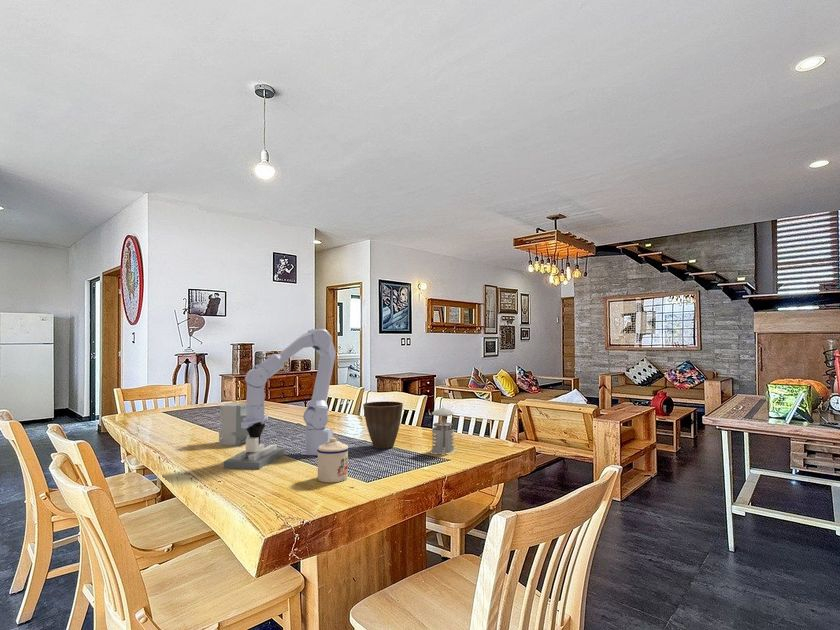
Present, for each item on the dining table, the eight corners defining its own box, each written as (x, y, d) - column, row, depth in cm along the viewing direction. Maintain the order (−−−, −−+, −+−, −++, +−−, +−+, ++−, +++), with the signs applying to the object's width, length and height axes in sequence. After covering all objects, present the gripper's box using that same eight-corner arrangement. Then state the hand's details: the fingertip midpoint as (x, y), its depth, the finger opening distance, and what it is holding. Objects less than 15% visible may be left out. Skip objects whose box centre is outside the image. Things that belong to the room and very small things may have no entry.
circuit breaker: (255, 445, 178) (256, 405, 179) (218, 445, 179) (219, 405, 179) (262, 440, 186) (263, 403, 186) (227, 440, 186) (227, 403, 187)
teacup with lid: (343, 484, 130) (343, 441, 130) (312, 482, 131) (312, 441, 132) (354, 471, 142) (354, 433, 142) (326, 470, 143) (326, 432, 143)
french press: (455, 448, 172) (454, 380, 173) (459, 456, 160) (458, 383, 161) (428, 448, 171) (428, 380, 173) (430, 456, 160) (430, 383, 161)
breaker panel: (254, 452, 166) (254, 442, 167) (286, 453, 165) (286, 443, 165) (223, 467, 147) (223, 456, 147) (259, 469, 145) (259, 457, 145)
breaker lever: (249, 455, 154) (250, 437, 155) (258, 455, 154) (259, 437, 154) (245, 457, 151) (245, 438, 152) (254, 457, 151) (254, 439, 151)
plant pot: (357, 450, 169) (357, 406, 170) (370, 441, 184) (370, 400, 184) (396, 452, 166) (396, 407, 167) (407, 443, 180) (407, 401, 181)
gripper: (255, 401, 163) (254, 441, 162) (232, 408, 149) (231, 451, 148) (274, 402, 162) (273, 441, 161) (253, 408, 148) (252, 451, 147)
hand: (255, 446), depth 155 cm, fingers closed
